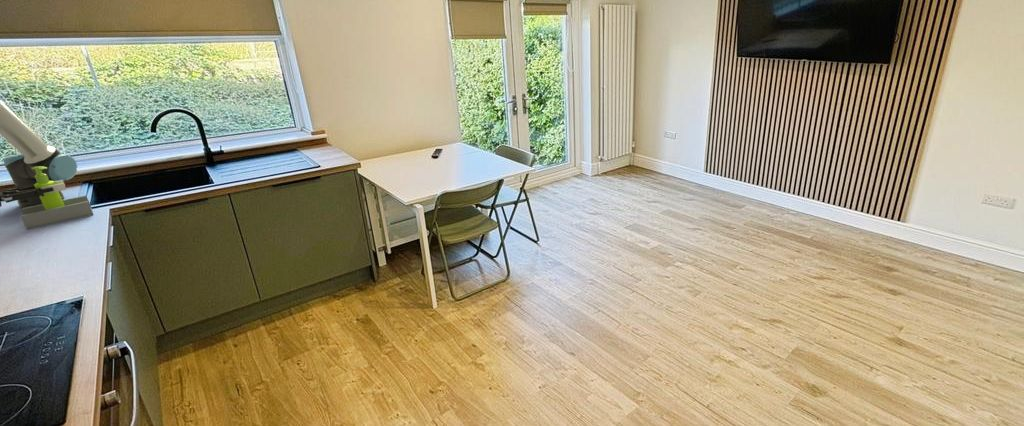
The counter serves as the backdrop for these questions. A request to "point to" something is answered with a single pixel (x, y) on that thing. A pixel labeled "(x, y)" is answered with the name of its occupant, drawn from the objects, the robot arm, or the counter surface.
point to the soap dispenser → (48, 199)
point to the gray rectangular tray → (56, 213)
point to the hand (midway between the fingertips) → (64, 184)
